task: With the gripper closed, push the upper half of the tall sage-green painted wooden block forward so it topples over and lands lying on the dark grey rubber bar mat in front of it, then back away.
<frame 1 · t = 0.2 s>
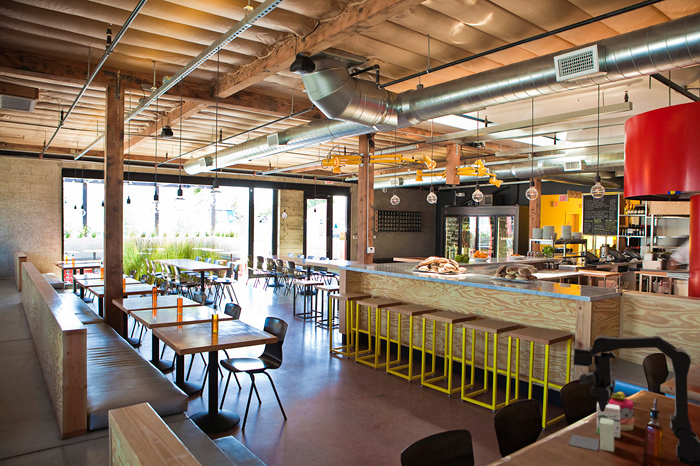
hand: (604, 408, 180), 14 cm above the table, fingers open, 9 cm apart
ink box: (608, 434, 190), on the table
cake: (620, 426, 198), on the table
bar mat: (584, 442, 181), on the table
block: (607, 447, 177), on the table
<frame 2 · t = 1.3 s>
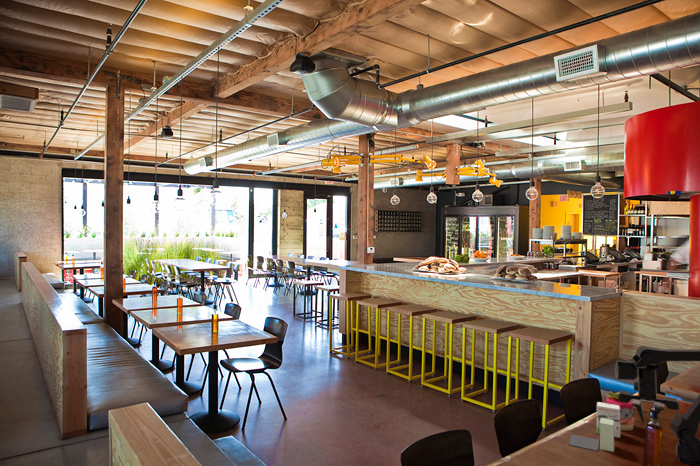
hand: (648, 423, 170), 12 cm above the table, fingers open, 3 cm apart
nothing on the table moved.
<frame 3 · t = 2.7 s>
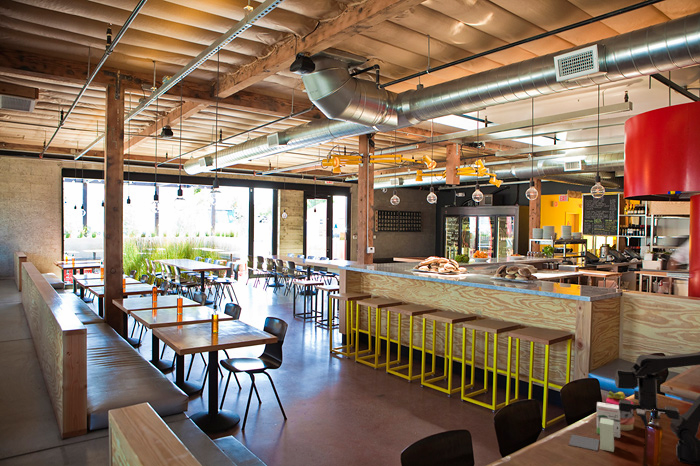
hand: (648, 432, 170), 9 cm above the table, fingers closed
nothing on the table moved.
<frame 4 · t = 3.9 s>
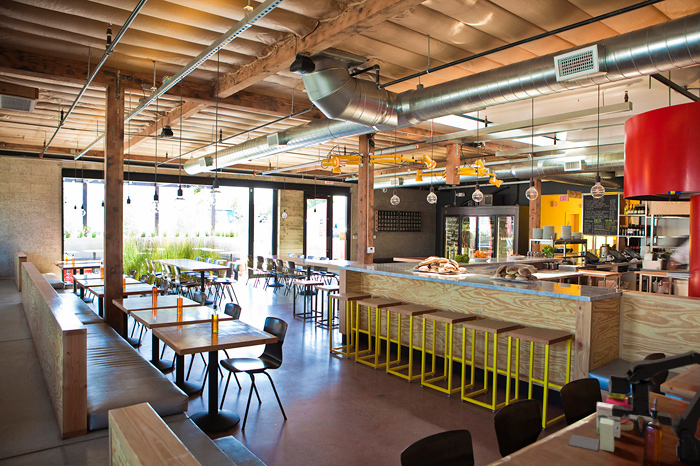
hand: (641, 437, 171), 6 cm above the table, fingers closed
nothing on the table moved.
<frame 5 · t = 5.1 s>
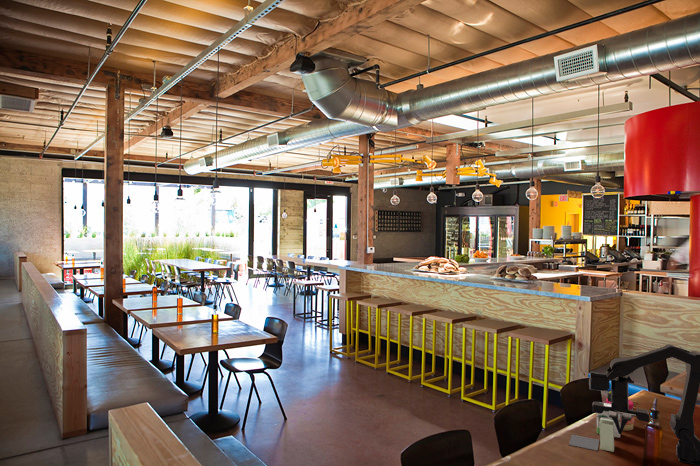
hand: (620, 433, 175), 6 cm above the table, fingers closed
block: (607, 447, 177), on the table, touching gripper
everything else where it was.
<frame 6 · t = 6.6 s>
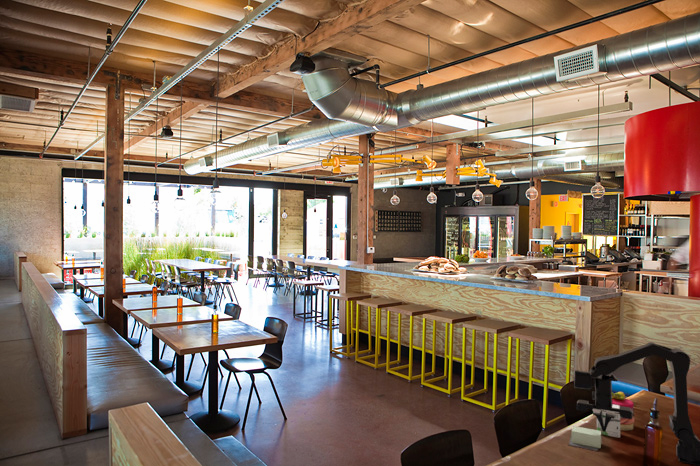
hand: (604, 431, 178), 6 cm above the table, fingers closed
block: (600, 439, 178), point 3 cm above the table, tilted 90°, touching bar mat
everything else where it was.
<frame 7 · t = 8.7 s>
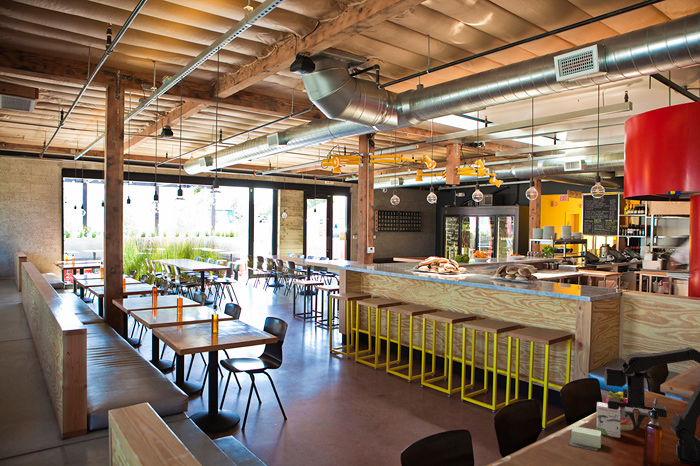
hand: (636, 430, 172), 9 cm above the table, fingers closed
nothing on the table moved.
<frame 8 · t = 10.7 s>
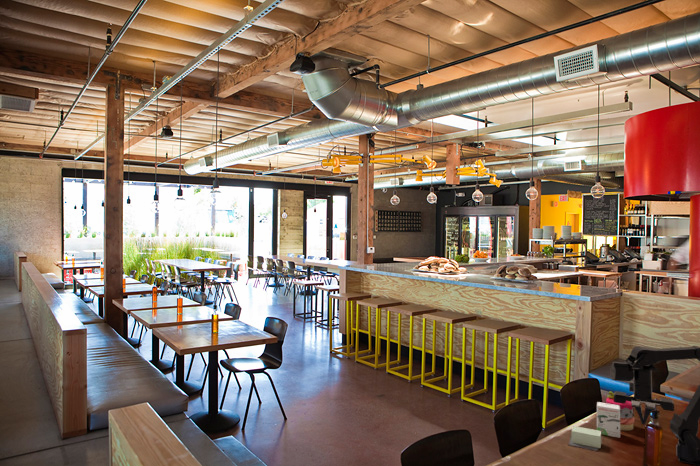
hand: (643, 424, 169), 12 cm above the table, fingers closed
nothing on the table moved.
at the end: block tilted 90°; block inside the target area (5.8 cm from its centre), point 2.5 cm above the table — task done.
